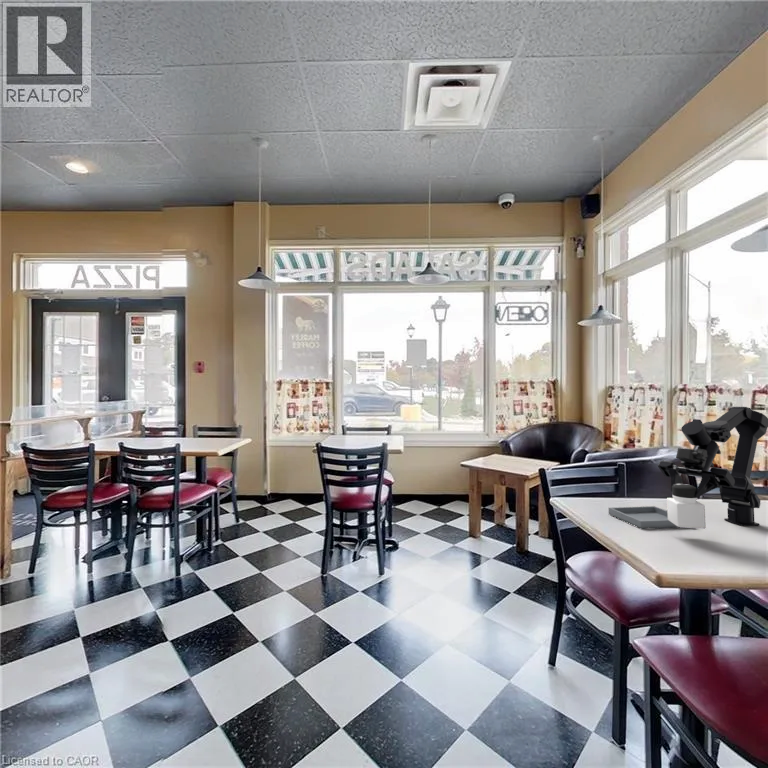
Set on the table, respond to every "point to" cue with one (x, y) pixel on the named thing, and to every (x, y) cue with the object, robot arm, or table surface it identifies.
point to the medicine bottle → (685, 507)
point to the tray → (643, 516)
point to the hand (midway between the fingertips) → (683, 494)
